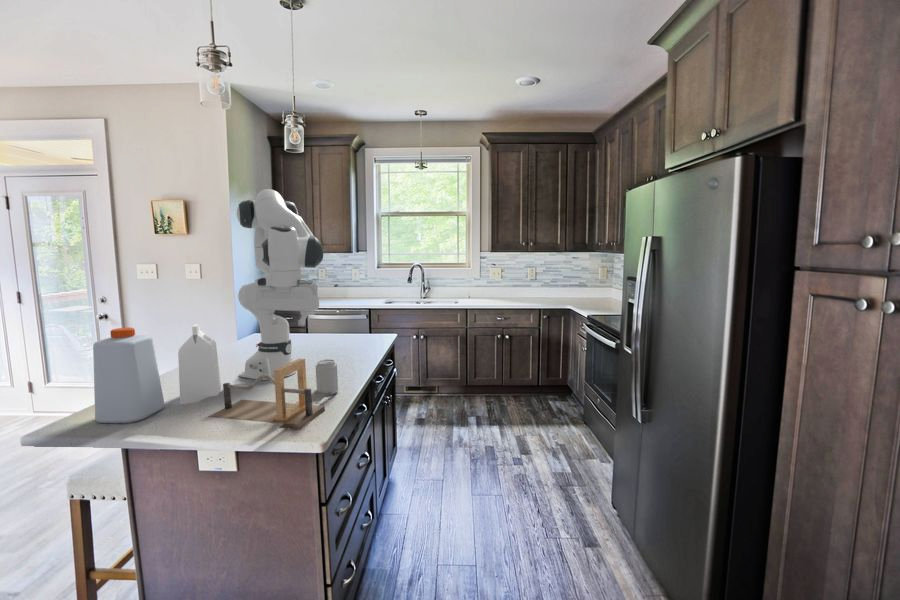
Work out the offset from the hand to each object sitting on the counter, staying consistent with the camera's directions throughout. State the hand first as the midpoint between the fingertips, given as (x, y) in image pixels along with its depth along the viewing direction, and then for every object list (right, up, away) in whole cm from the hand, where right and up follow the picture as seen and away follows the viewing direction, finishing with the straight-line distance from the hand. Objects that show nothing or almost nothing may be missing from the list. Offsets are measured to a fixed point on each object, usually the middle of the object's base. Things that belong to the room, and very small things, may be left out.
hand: (288, 324), depth 131 cm
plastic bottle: (-52, -29, +6) cm, 60 cm away
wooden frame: (+1, -28, +1) cm, 28 cm away
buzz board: (-8, -29, +4) cm, 30 cm away
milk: (-39, -27, +22) cm, 53 cm away
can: (+5, -27, +24) cm, 36 cm away
